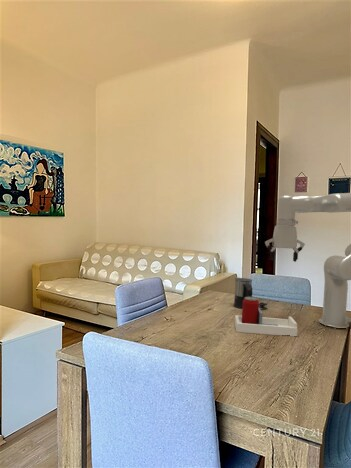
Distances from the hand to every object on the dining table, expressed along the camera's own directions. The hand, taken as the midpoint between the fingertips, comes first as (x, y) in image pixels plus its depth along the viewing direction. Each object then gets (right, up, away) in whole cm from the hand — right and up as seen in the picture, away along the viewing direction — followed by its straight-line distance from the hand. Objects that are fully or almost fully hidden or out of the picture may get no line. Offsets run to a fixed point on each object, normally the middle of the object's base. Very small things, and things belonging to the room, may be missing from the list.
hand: (283, 260), depth 147 cm
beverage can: (-18, -27, -9) cm, 34 cm away
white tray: (-12, -28, -10) cm, 32 cm away
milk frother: (-10, -27, +25) cm, 38 cm away
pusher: (-10, -27, -10) cm, 31 cm away
